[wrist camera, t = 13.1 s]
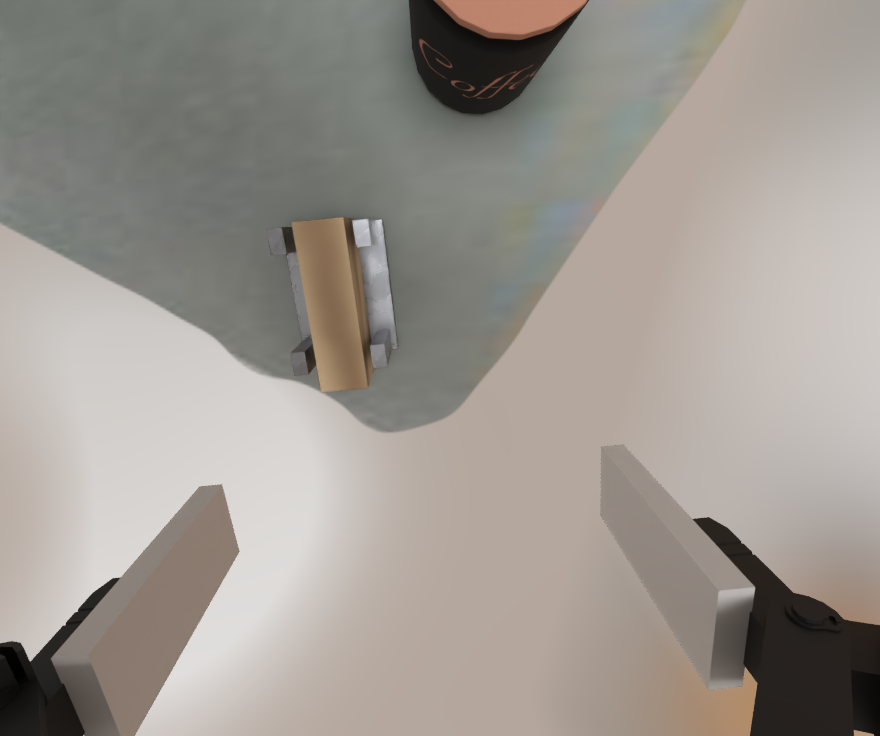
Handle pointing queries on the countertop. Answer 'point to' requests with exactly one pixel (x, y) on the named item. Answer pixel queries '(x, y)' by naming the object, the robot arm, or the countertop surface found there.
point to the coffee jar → (485, 46)
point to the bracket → (375, 290)
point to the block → (335, 302)
